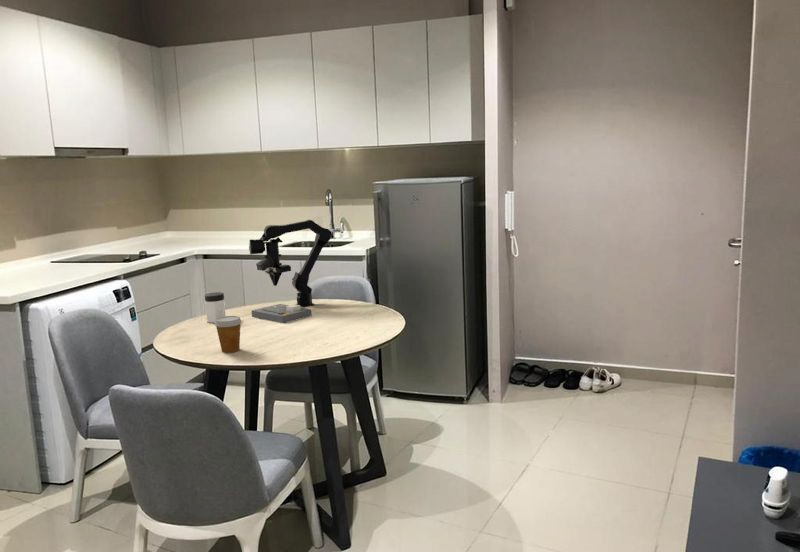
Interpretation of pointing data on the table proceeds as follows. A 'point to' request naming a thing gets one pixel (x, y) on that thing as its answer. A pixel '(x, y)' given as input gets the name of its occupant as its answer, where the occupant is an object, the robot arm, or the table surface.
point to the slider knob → (280, 308)
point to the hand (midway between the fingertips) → (275, 285)
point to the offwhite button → (293, 308)
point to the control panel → (280, 314)
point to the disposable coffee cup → (229, 333)
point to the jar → (214, 306)
